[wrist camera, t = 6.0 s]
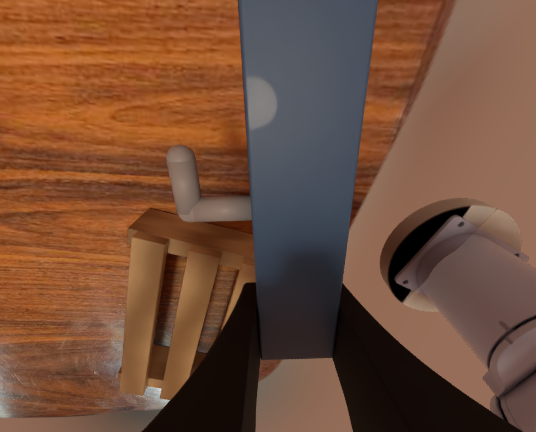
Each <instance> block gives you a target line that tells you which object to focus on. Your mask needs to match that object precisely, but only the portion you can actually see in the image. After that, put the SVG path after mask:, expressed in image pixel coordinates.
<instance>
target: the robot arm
mask: <svg viewBox="0 0 536 432" xmlns="http://www.w3.org/2000/svg"><path fill="white" fill-rule="evenodd" d="M460 222H461V223H460ZM458 223H460V224H459V225H458ZM528 260H529V257H528V256H527V255H526V254H524V253H522V252H520V251H519V250H517V249H515V248H514V247H512V246H510V245H508V244H507V243H505V242H503V241H501V240H500V239H498V238H496V237H494V236H493V235H491V234H489V233H488V232H486V231H484V230H482V229H481V228H479V227H477V226H475V225H474V224H472V223H470V222H468V221H467V220H465V219H463V218H462V217H460V216H458V215H453V216H451V217H450V218H449V219H448V220H447V221H446V222H445V223H444V224H443V225H442V227H441V228H440V229H439V230H438V231H437V232H436V233H435V234H434V235H433V236H432V237H431V238H430V239H429V241H428V242H427V243H426V244H425V245H424V246H423V247H422V248H421V249H420V250H419V251H418V252H417V254H416V255H415V256H414V257H413V258H412V259H411V260H410V261H409V262H408V263H407V264H406V265H405V266H404V268H403V269H402V270H401V271H400V272H399V273H398V274H397V275H396V276H395V281H396V283H398V284H400V285H402V286H404V287H406V288H408V289H411V290H413V291H415V292H417V293H419V294H421V295H423V296H426V297H428V298H429V299H430V300H431V301H432V302H433V304H434V305H435V306H436V307H437V308H438V310H439V311H440V312H441V313H442V314H443V316H444V317H445V318H446V319H447V320H448V322H449V323H450V324H451V325H452V327H453V328H454V329H455V330H456V331H457V333H458V334H459V335H460V336H461V337H462V339H463V340H464V341H465V342H466V343H467V345H468V346H469V347H470V348H471V350H472V351H473V352H474V353H475V354H476V355H477V357H478V358H479V359H480V360H481V362H482V363H483V364H484V365H485V366H486V368H487V369H488V372H487V373H486V374H485V375H484V376H483V380H484V381H485V382H486V384H487V385H488V386H489V387H490V389H491V390H492V391H493V393H494V394H495V395H494V396H493V397H492V398H491V402H490V409H491V411H489V410H488V409H487V408H485V407H484V406H482V405H481V404H479V403H478V402H476V401H475V400H473V399H472V398H470V397H469V396H467V395H466V394H464V393H463V392H462V391H460V390H459V389H457V388H456V387H455V386H453V385H452V384H451V383H449V382H448V381H446V380H445V379H444V378H442V377H441V376H440V375H438V374H437V373H436V372H434V371H433V370H432V369H430V368H429V367H428V366H427V365H425V364H424V363H423V362H421V361H420V360H419V359H418V358H416V356H414V355H413V354H412V353H411V352H410V351H408V350H407V349H406V348H405V347H404V346H403V345H401V344H400V343H399V342H398V341H397V340H396V339H395V338H394V337H393V336H392V335H391V334H390V333H388V332H387V331H386V330H385V329H384V328H383V327H382V326H381V325H380V324H379V323H378V322H377V321H376V320H375V319H374V318H373V317H372V316H371V315H370V313H369V312H368V311H367V310H366V309H365V308H364V307H363V306H362V305H361V304H360V303H359V302H358V300H357V299H356V298H355V297H354V296H353V295H352V294H351V293H350V291H349V290H348V289H347V288H346V287H345V286H344V284H343V283H342V289H341V297H340V304H339V312H338V320H337V328H336V336H335V344H334V352H333V357H332V358H333V361H334V364H335V368H336V371H337V374H338V377H339V380H340V383H341V387H342V390H343V393H344V397H345V400H346V404H347V407H348V412H349V416H350V421H351V425H352V429H353V432H536V268H535V267H533V266H531V265H530V264H528V263H526V262H527V261H528ZM404 280H405V281H404ZM260 356H261V355H260V340H259V324H258V308H257V293H256V282H250V283H245V284H244V285H243V288H242V291H241V293H240V296H239V298H238V300H237V302H236V305H235V307H234V309H233V311H232V313H231V314H230V316H229V318H228V320H227V322H226V324H225V326H224V327H223V329H222V331H221V332H220V334H219V336H218V337H217V339H216V341H215V342H214V344H213V345H212V347H211V348H210V350H209V351H208V353H207V354H206V356H205V357H204V358H203V360H202V361H201V363H200V364H199V365H198V367H197V368H196V369H195V371H194V372H193V373H192V374H191V376H190V377H189V378H188V380H187V381H186V382H185V383H184V385H183V386H182V387H181V388H180V390H179V391H178V392H177V393H176V394H175V396H174V397H173V398H172V399H171V400H170V401H169V402H168V403H167V405H166V406H165V407H164V408H163V409H162V410H161V411H160V412H159V414H158V415H157V416H156V417H155V418H154V419H153V420H152V422H150V424H149V425H148V426H147V427H146V428H145V429H144V430H143V431H142V432H255V427H256V399H257V388H258V378H259V367H260Z"/></svg>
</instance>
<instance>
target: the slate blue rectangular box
mask: <svg viewBox="0 0 536 432" xmlns="http://www.w3.org/2000/svg"><path fill="white" fill-rule="evenodd" d="M377 5H378V0H238V10H239V25H240V41H241V57H242V73H243V88H244V104H245V120H246V135H247V151H248V167H249V183H250V195H239V196H207V197H201V191H200V185H199V178H198V172H197V165H196V159H195V155H194V153H193V151H192V150H191V149H190V148H188V147H187V146H184V145H175V146H173V147H171V148H170V149H169V151H168V152H167V155H166V161H167V166H168V171H169V175H170V180H171V185H172V190H173V195H174V200H175V205H176V209H177V213H178V216H179V217H180V218H181V219H182V220H183V221H186V222H215V221H247V220H252V230H253V245H254V261H255V277H256V293H257V308H258V324H259V340H260V355H261V359H262V360H280V359H309V358H310V359H311V358H332V357H333V352H334V344H335V336H336V328H337V320H338V312H339V304H340V297H341V289H342V281H343V273H344V265H345V257H346V249H347V241H348V233H349V226H350V218H351V210H352V202H353V194H354V186H355V178H356V170H357V163H358V155H359V147H360V139H361V131H362V123H363V115H364V107H365V99H366V92H367V84H368V76H369V68H370V60H371V52H372V44H373V36H374V29H375V21H376V13H377Z"/></svg>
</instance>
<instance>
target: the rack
mask: <svg viewBox="0 0 536 432" xmlns="http://www.w3.org/2000/svg"><path fill="white" fill-rule="evenodd" d="M127 244H131V252H130V265H129V278H128V291H127V304H126V317H125V331H124V344H123V357H122V367H121V368H120V370H119V372H118V380H117V381H118V382H121V383H120V392H122V393H129V394H135V395H144V393H145V390H146V388H147V386H150V387H156V388H162V390H161V395H160V398H161V399H167V400H171V399H172V398H173V397H174V396H175V394H176V393H177V392H178V391H179V390H180V388H181V387H182V386H183V385H184V383H185V382H186V381H187V380H188V378H189V377H190V376H191V374H192V373H193V372H194V371H195V369H196V368H197V367H198V365H199V364H200V363H201V361H202V360H203V358H204V357H205V356H206V354H204V353H198V352H196V350H197V346H198V342H199V338H200V335H201V331H202V327H203V323H204V320H205V316H206V312H207V308H208V304H209V301H210V297H211V293H212V289H213V285H214V282H215V278H216V274H217V270H218V267H219V265H221V266H225V267H230V268H234V269H238V270H239V272H238V276H237V279H236V282H235V285H234V289H233V292H232V295H231V298H230V301H229V305H228V308H227V311H226V314H225V318H224V321H223V324H222V327H221V330H220V332H221V331H222V329H223V327H224V326H225V324H226V322H227V320H228V318H229V316H230V314H231V313H232V311H233V309H234V307H235V305H236V302H237V300H238V298H239V296H240V293H241V291H242V288H243V285H244V284H245V283H250V282H256V277H255V261H254V245H253V234H249V233H245V232H241V231H237V230H233V229H229V228H225V227H221V226H217V225H213V224H210V223H206V222H186V221H183V220H182V219H181V218H180V217H179V216H178V215H174V214H170V213H166V212H162V211H158V210H154V209H151V208H149V209H148V210H147V211H146V212H145V213H144V214H143V215H142V216H141V217H140V218H138V219H137V220H136V221H135V222H134V223H133V224H132V225H131V226H130V227H129V228H128V234H127ZM167 253H169V254H174V255H178V256H182V257H186V258H187V261H186V267H185V272H184V277H183V282H182V287H181V292H180V297H179V303H178V308H177V313H176V318H175V323H174V328H173V333H172V338H171V344H170V347H165V346H160V345H154V344H153V343H154V336H155V330H156V323H157V317H158V310H159V303H160V297H161V290H162V284H163V277H164V271H165V264H166V257H167Z"/></svg>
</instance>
